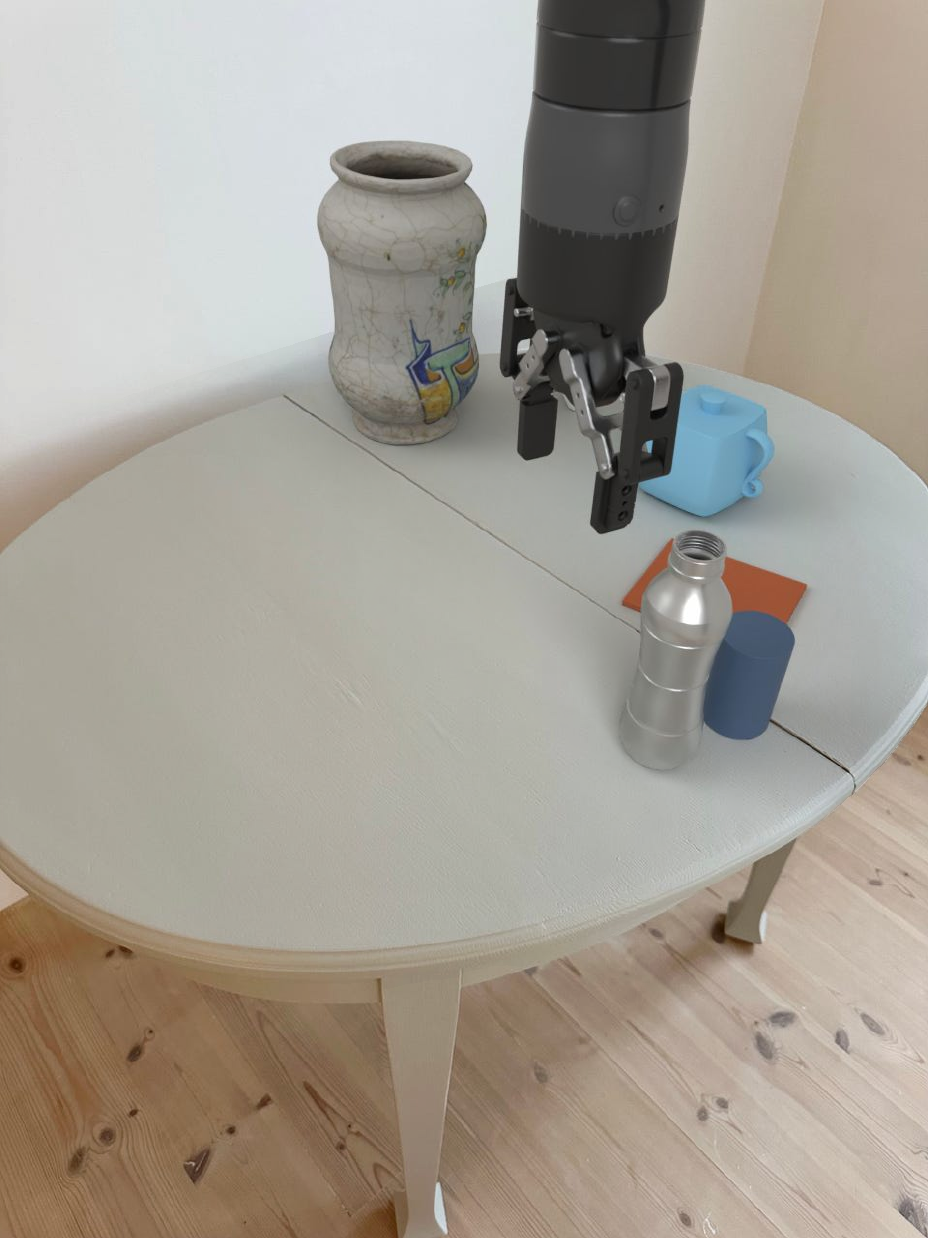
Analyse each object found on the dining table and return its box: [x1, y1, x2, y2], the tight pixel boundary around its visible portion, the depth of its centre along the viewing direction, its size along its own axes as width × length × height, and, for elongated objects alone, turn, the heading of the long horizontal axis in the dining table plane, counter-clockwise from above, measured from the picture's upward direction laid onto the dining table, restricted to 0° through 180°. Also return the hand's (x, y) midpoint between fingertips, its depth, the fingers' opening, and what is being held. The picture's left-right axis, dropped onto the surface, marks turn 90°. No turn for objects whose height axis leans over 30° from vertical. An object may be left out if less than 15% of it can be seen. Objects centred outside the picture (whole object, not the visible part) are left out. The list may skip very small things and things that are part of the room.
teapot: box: [638, 384, 775, 517], centre depth 103 cm, size 12×18×12 cm
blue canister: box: [703, 611, 796, 741], centre depth 76 cm, size 6×6×9 cm
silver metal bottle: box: [619, 529, 733, 771], centre depth 70 cm, size 6×7×20 cm
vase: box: [316, 140, 488, 445], centre depth 107 cm, size 18×18×30 cm
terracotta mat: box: [621, 537, 808, 624], centre depth 91 cm, size 14×12×1 cm
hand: (570, 489), depth 56 cm, fingers open, 8 cm apart
